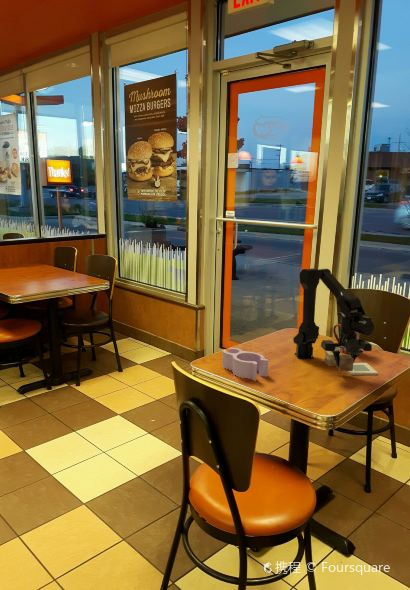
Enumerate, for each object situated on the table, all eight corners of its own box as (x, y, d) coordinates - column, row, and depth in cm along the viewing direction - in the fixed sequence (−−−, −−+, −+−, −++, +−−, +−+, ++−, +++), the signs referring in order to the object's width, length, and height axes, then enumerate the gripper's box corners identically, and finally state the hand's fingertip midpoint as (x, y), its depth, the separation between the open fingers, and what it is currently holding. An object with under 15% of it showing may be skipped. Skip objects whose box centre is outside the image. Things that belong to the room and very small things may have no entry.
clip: (215, 367, 186) (215, 351, 185) (236, 361, 194) (237, 345, 193) (250, 382, 171) (251, 365, 170) (272, 375, 179) (273, 358, 178)
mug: (362, 351, 210) (364, 323, 207) (353, 356, 203) (356, 327, 200) (336, 345, 218) (339, 318, 215) (327, 349, 211) (330, 321, 209)
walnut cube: (340, 371, 177) (341, 358, 176) (335, 366, 182) (336, 354, 181) (352, 370, 177) (353, 358, 176) (347, 366, 182) (348, 354, 181)
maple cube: (328, 366, 190) (329, 354, 189) (324, 361, 195) (325, 350, 194) (339, 365, 191) (340, 354, 190) (335, 361, 196) (336, 350, 195)
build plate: (351, 374, 181) (351, 372, 181) (341, 364, 192) (341, 362, 192) (377, 374, 182) (377, 372, 182) (366, 364, 193) (366, 362, 192)
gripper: (331, 334, 168) (328, 373, 171) (380, 334, 169) (375, 373, 172) (322, 326, 178) (319, 363, 182) (367, 326, 180) (363, 363, 183)
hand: (344, 366), depth 179 cm, fingers closed on walnut cube, 5 cm apart
